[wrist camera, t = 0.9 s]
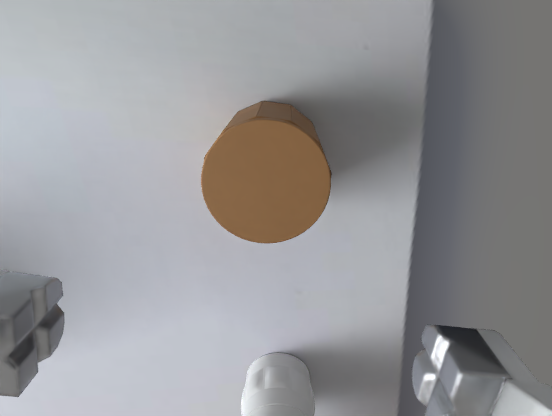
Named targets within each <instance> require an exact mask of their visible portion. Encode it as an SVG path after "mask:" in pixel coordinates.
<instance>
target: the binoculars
mask: <svg viewBox="0 0 552 416" xmlns="http://www.w3.org/2000/svg"><path fill="white" fill-rule="evenodd" d="M314 412H315V401H314V395H313V390H312V388H311V384H310V374H309V371H308V368H307V367H306V365H305V364H304V363H303V362H302V361H301V360H300V359H298V358H296V357H294V356H292V355H289V354H285V353H271V354H267V355H264V356H261V357H259V358H258V359H256V360H255V361H254V362H253V363H252V364H251V366H250V367H249V369H248V372H247V378H246V385H245V388H244V390H243V394H242V401H241V413H242V416H314Z"/></svg>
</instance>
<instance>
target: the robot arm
mask: <svg viewBox="0 0 552 416" xmlns="http://www.w3.org/2000/svg"><path fill="white" fill-rule="evenodd" d="M62 296H63V290H62V282H61V281H60V280H59V279H58V278H55V277H48V276H41V275H34V274H27V273H20V272H10V271H6V270H0V395H1V396H13V397H19V396H20V394H21V393H22V392H23V391H24V389H25V388H26V387H27V386H28V384H29V383H30V382H31V380H32V379H33V378H34V377H35V375H36V374H37V373H38V362H40V361H42V360H44V359H46V358H48V357H50V356H51V355H52V353H53V352H54V351H55V349H56V348H57V347H58V344H59V342H60V339H61V337H62V334H63V330H64V323H65V322H64V312H63V311H62V310H61V308H60V307H59V306H58V305H57V302H58V301H59V300H60V299H61V298H62ZM421 341H422V343H423V345H424V347H425V348H424V349H423V350H422V351H420V352H419V353H418V354H416V356H415V359H414V363H413V366H412V383H413V388H414V392H415V395H416V397H417V400H419V401H420V402H421V403H422V404H423V405H424V406H425V407H426V408H427V409H426V412H425V415H424V416H552V387H551V386H550V385H548V384H542V383H539V381H538V380H537V379H536V378H535V376H534V375H533V374H532V373H531V371H530V370H529V369H528V368H527V366H526V365H525V364H524V363H523V361H522V360H521V359H520V358H519V356H518V355H517V354H516V353H515V351H514V350H513V349H512V348H511V346H510V345H509V344H508V343H507V341H506V340H505V339H504V338H503V336H502V335H501V334H500V333H498V332H497V331H495V330H486V329H474V328H472V329H471V328H461V327H450V326H441V325H431V324H427V326H426V327H425V329H424V330H423V334H422V337H421Z"/></svg>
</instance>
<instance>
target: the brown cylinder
mask: <svg viewBox="0 0 552 416" xmlns="http://www.w3.org/2000/svg"><path fill="white" fill-rule="evenodd" d="M201 187H202V193H203V197H204V200H205V203H206V205H207V207H208V209H209V211H210V212H211V214H212V216H213V217H214V218H215V219H216V221H217V222H218V223H219V224H220V225H221V226H222V227H224V228H225V229H226V230H227V231H229V232H230V233H232V234H234V235H235V236H238V237H240V238H242V239H245V240H248V241H252V242H257V243H276V242H282V241H286V240H289V239H292V238H294V237H296V236H298V235H300V234H301V233H303V232H305V231H306V230H307V229H309V228H310V227H311V226H312V225H313V224H314V223H315V222H316V221H317V219H318V218H319V217H320V216H321V214H322V212H323V211H324V209H325V207H326V204H327V202H328V198H329V194H330V188H331V170H330V168H329V165H328V162H327V160H326V157H325V154H324V152H323V149H322V146H321V144H320V141H319V139H318V136H317V134H316V131H315V128H314V126H313V123H312V122H311V121H310V120H309V119H308V118H306V117H305V116H304V115H303V114H301V113H300V112H299V111H298V110H296V109H295V108H294V107H293V106H291V105H289V104H282V103H274V102H267V101H261V102H259V103H257V104H254V105H252V106H250V107H247V108H245V109H243V110H240V111H238V112H237V113H236V114H235V116H234V117H233V118H232V120H231V121H230V122H229V124H228V125H227V126H226V127H225V129H224V130H223V131H222V133H221V134H220V136H219V137H218V138H217V140H216V141H215V143H214V144H213V145H212V147H211V148H210V149H209V151H208V152H207V154H206V155H205V157H204V164H203V167H202V174H201Z"/></svg>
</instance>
